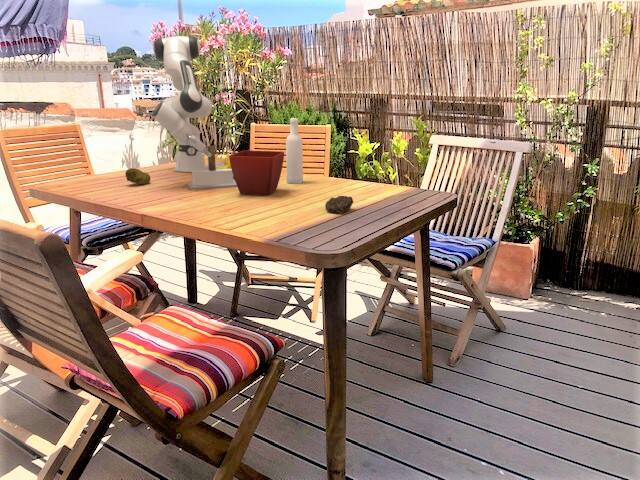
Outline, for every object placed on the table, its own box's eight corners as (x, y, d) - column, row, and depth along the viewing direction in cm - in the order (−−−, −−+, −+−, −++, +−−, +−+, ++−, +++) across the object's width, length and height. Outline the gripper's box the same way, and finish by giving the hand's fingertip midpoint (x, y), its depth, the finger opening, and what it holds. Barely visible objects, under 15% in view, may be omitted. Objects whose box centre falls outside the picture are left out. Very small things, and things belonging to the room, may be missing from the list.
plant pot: (273, 197, 218) (272, 156, 213) (229, 195, 221) (227, 155, 217) (285, 189, 236) (285, 151, 231) (245, 187, 239) (243, 150, 235)
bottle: (302, 184, 248) (302, 118, 240) (285, 184, 248) (284, 118, 240) (303, 181, 256) (302, 117, 247) (287, 181, 256) (286, 117, 248)
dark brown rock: (336, 206, 203) (336, 193, 202) (357, 210, 197) (358, 196, 196) (317, 211, 194) (317, 198, 193) (339, 215, 188) (340, 201, 187)
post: (208, 170, 243) (206, 146, 240) (215, 169, 244) (213, 145, 241) (209, 171, 240) (207, 146, 237) (216, 170, 241) (215, 146, 238)
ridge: (187, 184, 247) (186, 169, 245) (233, 181, 254) (233, 167, 252) (190, 189, 234) (189, 174, 232) (239, 186, 241) (239, 171, 239)
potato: (156, 183, 248) (155, 166, 246) (130, 187, 239) (129, 169, 237) (147, 181, 254) (146, 165, 251) (122, 185, 245) (120, 168, 243)
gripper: (193, 130, 225) (217, 152, 230) (187, 126, 243) (210, 147, 249) (183, 141, 224) (207, 163, 230) (178, 137, 243) (201, 157, 249)
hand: (209, 154), depth 240 cm, fingers open, 8 cm apart
